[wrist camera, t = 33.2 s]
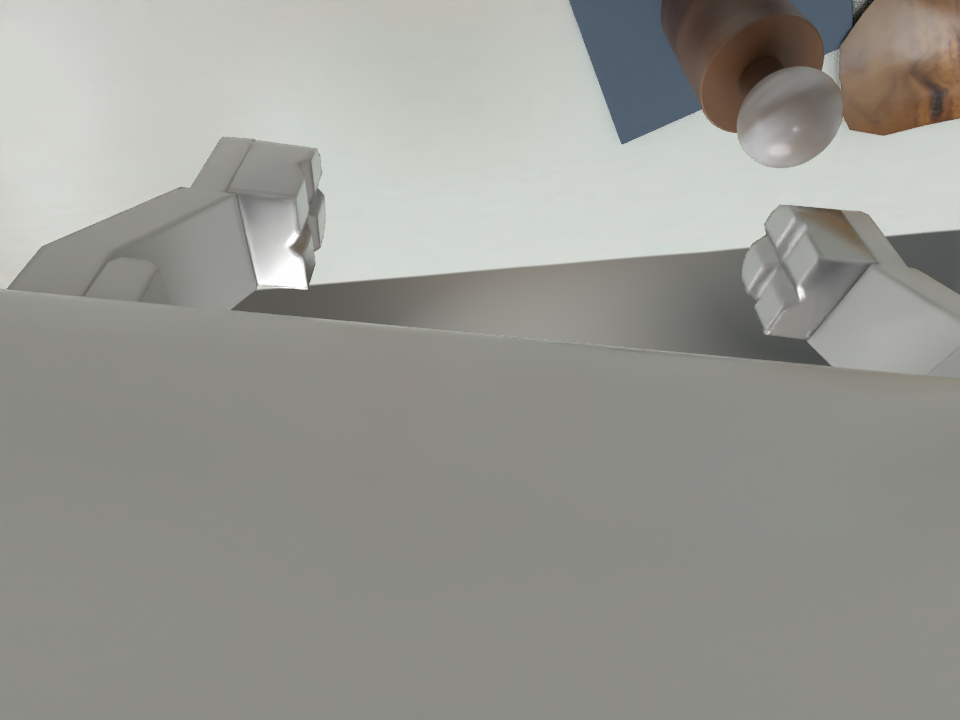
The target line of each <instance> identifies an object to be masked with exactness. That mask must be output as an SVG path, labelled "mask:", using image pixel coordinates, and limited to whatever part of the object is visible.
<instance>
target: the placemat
mask: <svg viewBox="0 0 960 720" xmlns="http://www.w3.org/2000/svg"><path fill="white" fill-rule="evenodd" d="M569 1H570V4H571V7H572V10H573V12H574V15H575V18H576V21H577V23H578V26H579V29H580V32H581V34H582V37H583V40H584V43H585V45H586V48H587V51H588V54H589V56H590V59H591V62H592V65H593V67H594V70H595V73H596V76H597V78H598V81H599V84H600V86H601V89H602V92H603V95H604V97H605V100H606V103H607V106H608V108H609V111H610V114H611V117H612V119H613V122H614V125H615V128H616V130H617V133H618V136H619V139H620V141H621V144H624V143H627V142H629V141H631V140H633V139H636V138H638V137H640V136H642V135H645V134H647V133H649V132H651V131H654V130H656V129H658V128H660V127H663V126H665V125H667V124H669V123H672V122H674V121H676V120H678V119H681V118H683V117H685V116H688V115H690V114H692V113H694V112H697V111H699V110H701V109H702V108H701V106H700V104H699V102H698V100H697V98H696V96H695V94H694V92H693V90H692V88H691V86H690V84H689V82H688V80H687V78H686V76H685V74H684V72H683V70H682V68H681V66H680V64H679V62H678V60H677V58H676V56H675V54H674V52H673V50H672V48H671V46H670V44H669V42H668V40H667V38H666V36H665V33H664V31H663V28H662V24H661V6H662V1H663V0H569ZM790 1H791V2H792V3H793V4H794V5H795V6H796V7H797V8H798V9H799V10H800V12H801V13H802V14H803V15H804V16H805V17H806V18H807V19H808V20H809V21H810V22H811V23H812V24H813V25H814V26H815V27H816V29H817V30H818V32H819V33H820V36H821V38H822V41H823V46H824V55H825V54H827V53H830V52H832V51H834V50H836V49H839V48H840V46H841V44H842V43H843V41H844V40H845V38H846V37H847V35H848V34H849V32H850V31H851V30H852V28H853V11H852V0H790Z"/></svg>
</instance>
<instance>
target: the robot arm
mask: <svg viewBox="0 0 960 720" xmlns="http://www.w3.org/2000/svg"><path fill="white" fill-rule="evenodd" d="M321 175H322V168H321V160H320V154H319V152H318V149H317V148H310V147H303V146H295V145H288V144H281V143H274V142H267V141H259V140H257V141H256V140H254V139H246V138H236V137H222V138H221V139H220V140H219V142H218V143H217V145H216V146H215V148H214V150H213V151H212V153H211V155H210V156H209V158H208V159H207V161H206V163H205V164H204V166H203V168H202V169H201V171H200V172H199V174H198V176H197V177H196V179H195V181H194V182H193V184H192V185H191V187H190V188H185V187H179V188H177V189H175V190H172V191H170V192H168V193H165V194H163V195H161V196H158V197H156V198H154V199H151V200H149V201H147V202H144V203H142V204H140V205H137V206H135V207H133V208H130V209H128V210H126V211H123V212H121V213H119V214H116V215H114V216H112V217H109V218H107V219H105V220H102V221H100V222H98V223H95V224H93V225H91V226H88V227H86V228H84V229H81V230H79V231H77V232H74V233H72V234H70V235H67V236H65V237H63V238H60V239H58V240H56V241H53V242H51V243H49V244H46V245H44V246H42V247H41V248H40V249H39V250H38V251H37V253H36V254H35V255H34V256H33V258H32V259H31V260H30V261H29V262H28V264H27V265H26V266H25V267H24V269H23V270H22V271H21V272H20V273H19V275H18V276H17V277H16V278H15V280H14V281H13V282H12V283H11V284H10V286H9V287H8V288H7V289H0V720H960V295H959V294H957V293H956V292H954V291H952V290H951V289H949V288H947V287H946V286H944V285H942V284H941V283H939V282H937V281H936V280H934V279H932V278H931V277H929V276H927V275H926V274H924V273H922V272H921V271H919V270H917V269H914V268H908V267H907V266H906V264H905V263H904V262H903V260H902V259H901V258H900V256H899V255H898V254H897V252H896V251H895V250H894V248H893V247H892V246H891V244H890V243H889V241H888V240H887V239H886V237H885V236H884V235H883V233H882V232H881V231H880V229H879V228H878V227H877V225H876V224H875V223H874V221H873V220H872V218H871V217H870V216H869V215H868V214H865V213H863V212H861V211H847V210H835V209H825V208H814V207H803V206H792V205H779V206H778V207H777V208H776V209H775V210H774V211H773V212H772V213H771V214H770V216H769V217H768V219H767V220H766V222H765V224H764V225H765V231H766V235H765V236H764V237H762V238H760V239H759V240H757V241H756V242H754V243H753V244H752V245H751V247H750V249H749V251H748V252H747V254H746V256H745V258H744V262H743V267H742V272H741V274H742V283H743V286H744V288H745V291H746V292H747V293H748V294H749V295H750V296H752V297H753V298H754V299H755V300H757V303H756V305H755V307H754V308H753V309H754V312H755V314H756V316H757V318H758V321H759V323H760V325H761V328H762V330H763V332H764V334H766V335H774V336H783V337H791V338H799V339H807V340H808V341H807V342H808V343H809V344H810V345H811V346H812V347H813V348H814V349H815V350H816V351H817V352H818V353H819V354H820V355H821V356H822V357H823V358H824V359H825V360H827V362H829V364H830V365H832V366H833V367H832V366H820V365H809V364H799V363H789V362H778V361H767V360H756V359H746V358H735V357H724V356H714V355H713V356H712V355H703V354H692V353H681V352H671V351H660V350H649V349H638V348H628V347H617V346H606V345H596V344H585V343H574V342H563V341H553V340H542V339H532V338H521V337H510V336H500V335H489V334H478V333H468V332H456V331H446V330H436V329H424V328H414V327H403V326H393V325H382V324H370V323H360V322H350V321H339V320H328V319H318V318H307V317H297V316H285V315H275V314H264V313H254V312H243V311H232V310H231V309H232V308H233V307H235V306H236V305H237V304H238V303H239V302H241V301H242V300H243V299H244V298H246V297H247V296H248V295H249V294H251V293H252V292H253V291H254V290H256V289H257V286H265V287H279V288H292V289H308V286H309V283H310V280H311V277H312V273H313V270H314V267H315V257H314V251H316V250H318V249H319V248H320V247H321V244H322V240H323V237H324V228H325V198H324V195H323V194H322V192H321V191H320V190H319V189H318V188H317V187H318V184H319V181H320V178H321Z"/></svg>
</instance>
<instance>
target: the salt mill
mask: <svg viewBox="0 0 960 720" xmlns="http://www.w3.org/2000/svg"><path fill="white" fill-rule="evenodd" d="M661 24H662V28H663V31H664V33H665V36H666V38H667V40H668V42H669V44H670V46H671V48H672V50H673V52H674V54H675V56H676V58H677V60H678V62H679V64H680V66H681V68H682V70H683V72H684V74H685V76H686V78H687V80H688V82H689V84H690V86H691V88H692V90H693V92H694V94H695V96H696V98H697V100H698V102H699V104H700V106H701V108H702V110H703V112H704V114H705V116H706V117H707V119H708V120H709V121H710V122H711V123H712V124H714V125H715V126H716V127H718V128H720V129H722V130H725V131H728V132H733V133H737V135H738V139H739V142H740V145H741V146H742V148H743V150H744V151H745V153H746V154H747V155H748V156H749V157H750V158H751V159H753V160H754V161H756V162H757V163H759V164H761V165H764V166H767V167H772V168H788V167H793V166H797V165H800V164H803V163H805V162H807V161H809V160H811V159H813V158H814V157H816V156H817V155H818V154H820V153H821V152H822V151H823V150H824V149H825V148H826V147H827V146H828V145H829V144H830V143H831V141H832V140H833V138H834V137H835V135H836V133H837V131H838V129H839V127H840V124H841V121H842V117H843V99H842V95H841V92H840V90H839V88H838V86H837V84H836V83H835V82H834V81H833V79H832V78H831V77H829V76H828V75H827V74H826V73H824V72H822V71H821V70H822V66H823V60H824V46H823V41H822V38H821V36H820V33H819V32H818V30H817V29H816V27H815V26H814V25H813V24H812V23H811V22H810V21H809V20H808V19H807V18H806V17H805V16H804V15H803V14H802V13H801V12H800V10H799V9H798V8H797V7H796V6H795V5H794V4H793V3H792V2H791V1H790V0H663V1H662V6H661Z"/></svg>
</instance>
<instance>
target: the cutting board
mask: <svg viewBox="0 0 960 720" xmlns="http://www.w3.org/2000/svg"><path fill="white" fill-rule="evenodd" d="M840 81H841V95H842V99H843V116H844V118H845V121H846V123H847V125H848V127H849V129H850V130H854V131H860V132H866V133H871V134H877V135H883V136H884V135H888V134H892V133H896V132H900V131H904V130H908V129H912V128H916V127H920V126H924V125H929V124H934V123H939V122H944V121H948V120H953V119H958V118H960V0H874V1H873V2H872V3H871V5H870V6H869V7H868V8H867V9H866V11H865V12H864V13H863V14H862V16H861V17H860V19H859V20H858V21H857V23H856V24H855V25H854V27H853V28H852V30H851V31H850V32H849V34H848V35H847V37H846V38H845V40H844V41H843V43H842V44H841V46H840Z"/></svg>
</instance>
